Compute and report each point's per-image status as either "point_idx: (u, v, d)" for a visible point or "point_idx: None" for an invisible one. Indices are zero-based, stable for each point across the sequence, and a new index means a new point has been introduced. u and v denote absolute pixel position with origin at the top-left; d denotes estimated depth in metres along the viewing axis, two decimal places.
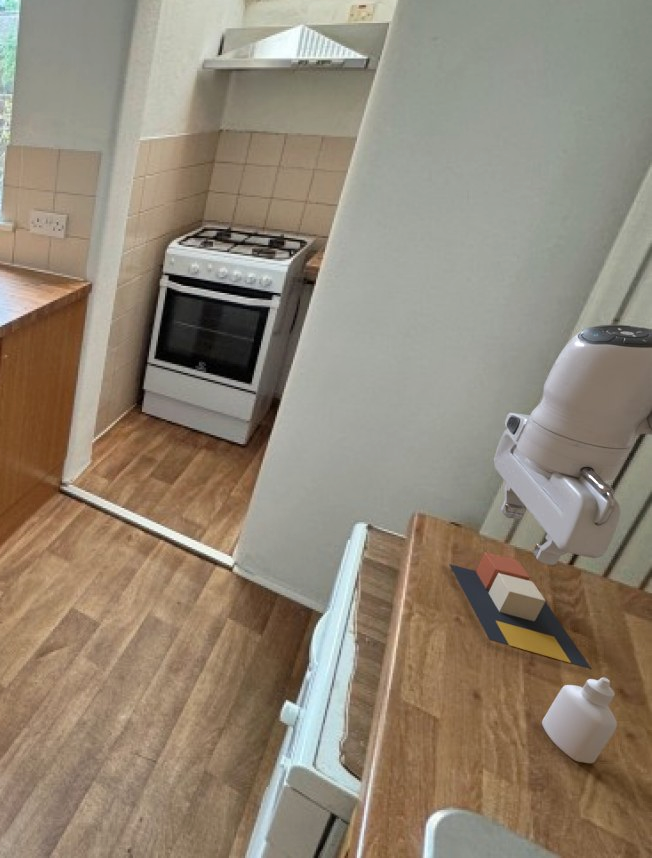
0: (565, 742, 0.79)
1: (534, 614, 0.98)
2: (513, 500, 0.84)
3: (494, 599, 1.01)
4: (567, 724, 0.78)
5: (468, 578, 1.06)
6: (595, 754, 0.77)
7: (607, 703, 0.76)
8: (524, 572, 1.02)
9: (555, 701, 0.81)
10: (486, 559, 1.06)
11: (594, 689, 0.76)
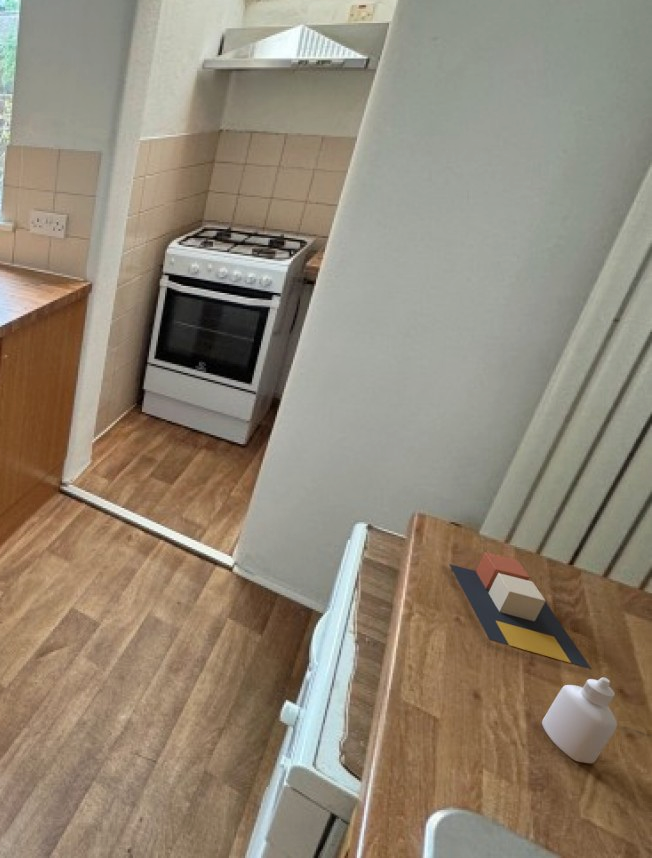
0: (565, 742, 0.79)
1: (534, 614, 0.98)
2: None
3: (494, 599, 1.01)
4: (567, 724, 0.78)
5: (468, 578, 1.06)
6: (595, 754, 0.77)
7: (607, 703, 0.76)
8: (524, 572, 1.02)
9: (555, 701, 0.81)
10: (486, 559, 1.06)
11: (594, 689, 0.76)
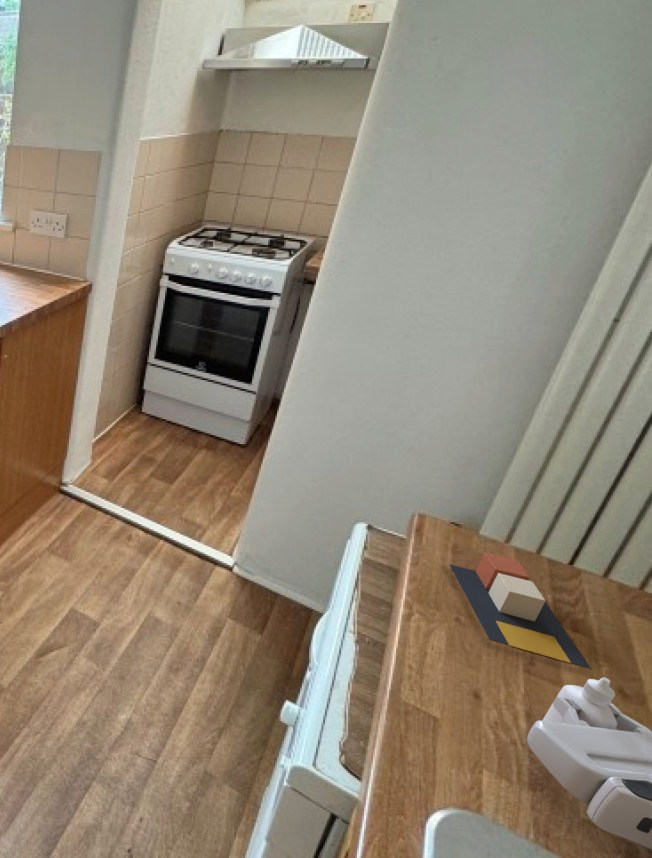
0: None
1: (534, 614, 0.98)
2: None
3: (494, 599, 1.01)
4: None
5: (468, 578, 1.06)
6: None
7: (607, 703, 0.76)
8: (524, 572, 1.02)
9: None
10: (486, 559, 1.06)
11: (594, 689, 0.76)
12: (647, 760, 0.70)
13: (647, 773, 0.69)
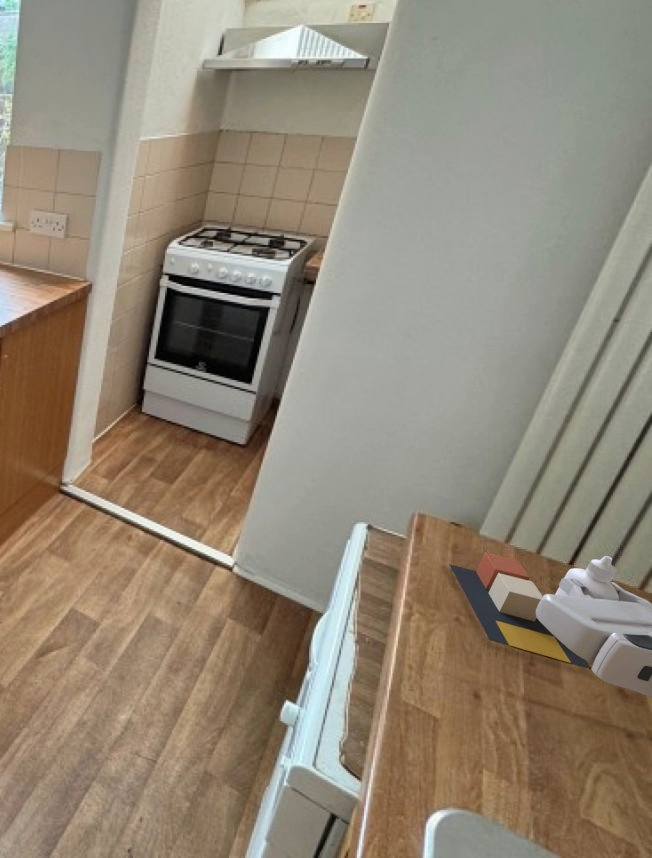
0: None
1: (534, 614, 0.98)
2: None
3: (494, 599, 1.01)
4: None
5: (468, 578, 1.06)
6: None
7: (610, 579, 0.81)
8: (524, 572, 1.02)
9: None
10: (486, 559, 1.06)
11: (597, 567, 0.82)
12: (646, 623, 0.76)
13: (647, 632, 0.75)
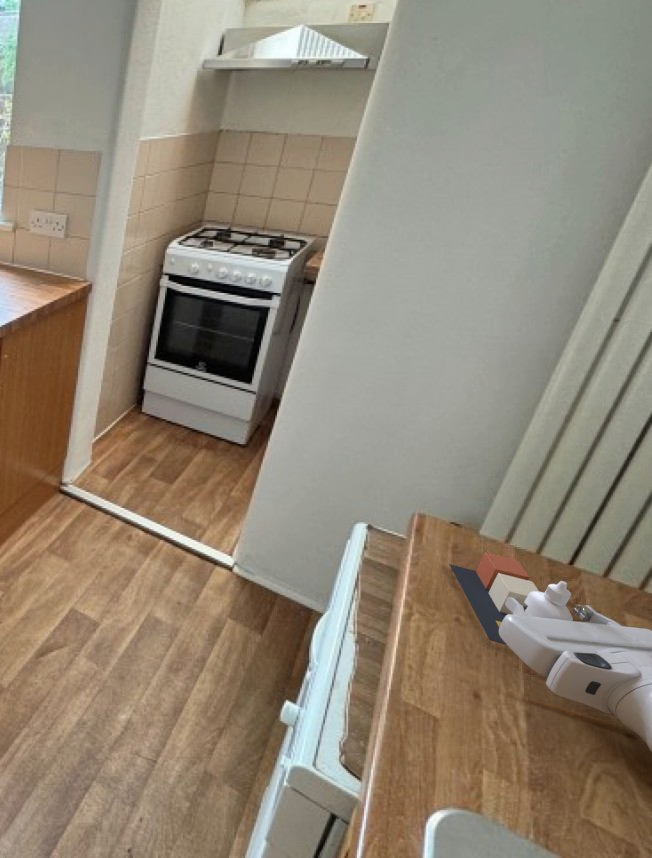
0: None
1: None
2: None
3: (494, 599, 1.01)
4: None
5: (468, 578, 1.06)
6: None
7: (565, 602, 0.90)
8: (524, 572, 1.02)
9: None
10: (486, 559, 1.06)
11: (554, 591, 0.90)
12: (596, 642, 0.84)
13: (596, 650, 0.83)
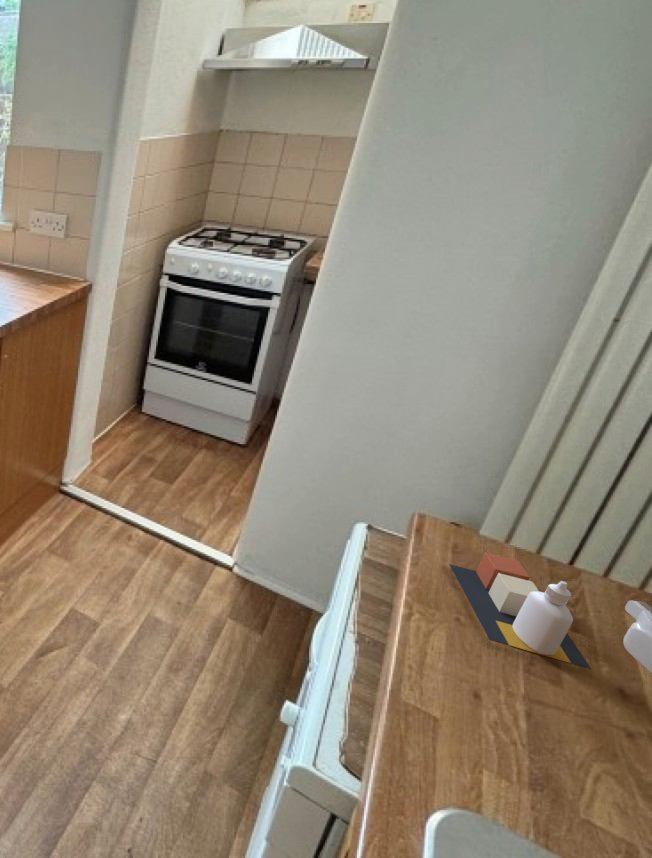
0: (530, 639, 0.93)
1: None
2: None
3: (494, 599, 1.01)
4: (532, 623, 0.92)
5: (468, 578, 1.06)
6: (555, 646, 0.91)
7: (565, 602, 0.90)
8: (524, 572, 1.02)
9: (523, 606, 0.95)
10: (486, 559, 1.06)
11: (554, 591, 0.90)
12: None
13: None
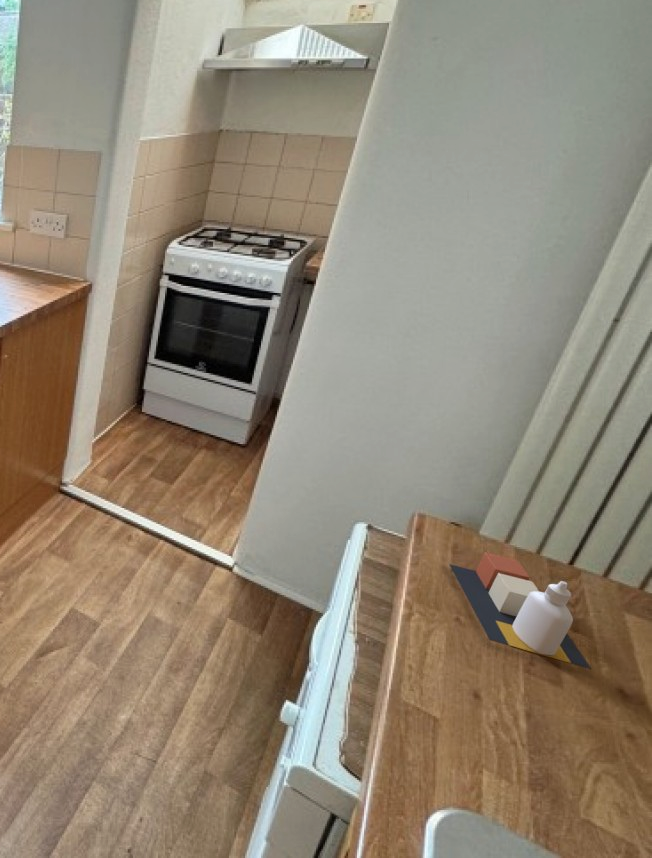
0: (530, 639, 0.93)
1: None
2: None
3: (494, 599, 1.01)
4: (532, 623, 0.92)
5: (468, 578, 1.06)
6: (555, 646, 0.91)
7: (565, 602, 0.90)
8: (524, 572, 1.02)
9: (523, 606, 0.95)
10: (486, 559, 1.06)
11: (554, 591, 0.90)
12: None
13: None
